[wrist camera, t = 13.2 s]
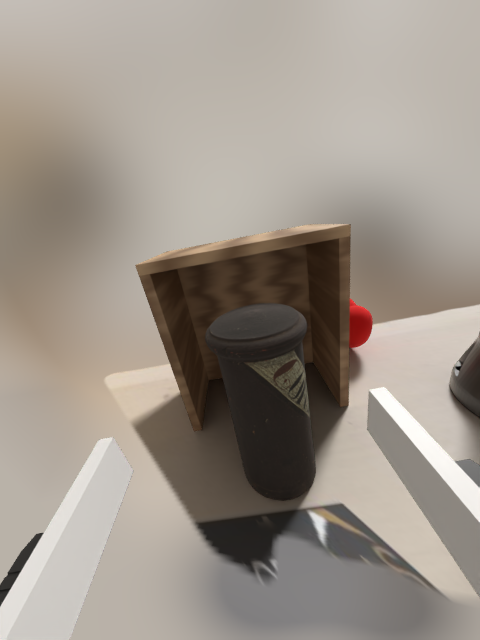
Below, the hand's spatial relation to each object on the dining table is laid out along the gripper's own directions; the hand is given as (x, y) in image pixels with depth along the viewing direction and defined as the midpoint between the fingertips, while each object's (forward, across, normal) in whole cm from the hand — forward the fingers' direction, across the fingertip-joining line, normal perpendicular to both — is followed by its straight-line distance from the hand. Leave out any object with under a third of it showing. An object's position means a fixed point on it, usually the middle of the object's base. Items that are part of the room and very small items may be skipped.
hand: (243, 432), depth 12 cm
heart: (+32, +21, -18) cm, 42 cm away
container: (+10, +2, -18) cm, 20 cm away
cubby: (+23, +2, -18) cm, 29 cm away
